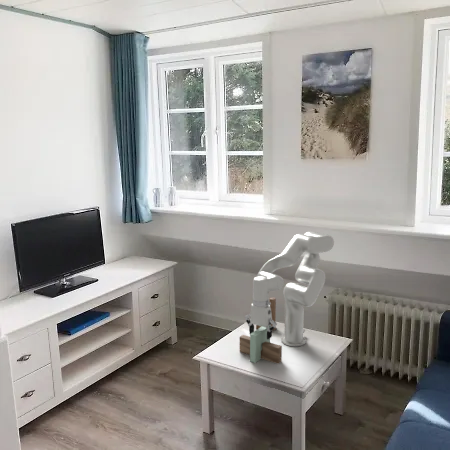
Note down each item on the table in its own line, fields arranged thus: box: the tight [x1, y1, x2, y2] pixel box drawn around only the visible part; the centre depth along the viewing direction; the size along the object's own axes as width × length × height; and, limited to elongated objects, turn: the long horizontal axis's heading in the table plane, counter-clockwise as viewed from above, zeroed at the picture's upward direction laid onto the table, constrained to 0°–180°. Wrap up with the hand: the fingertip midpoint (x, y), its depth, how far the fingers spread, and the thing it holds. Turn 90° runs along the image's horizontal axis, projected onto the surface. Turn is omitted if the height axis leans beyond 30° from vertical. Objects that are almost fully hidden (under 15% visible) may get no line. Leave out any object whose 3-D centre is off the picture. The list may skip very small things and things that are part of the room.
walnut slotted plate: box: [239, 334, 283, 365], centre depth 232 cm, size 3×22×8 cm, turn 55°
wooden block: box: [255, 296, 277, 331], centre depth 262 cm, size 4×11×18 cm, turn 80°
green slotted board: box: [249, 326, 271, 364], centre depth 231 cm, size 14×3×14 cm, turn 145°
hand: (260, 335), depth 230 cm, fingers open, 9 cm apart
